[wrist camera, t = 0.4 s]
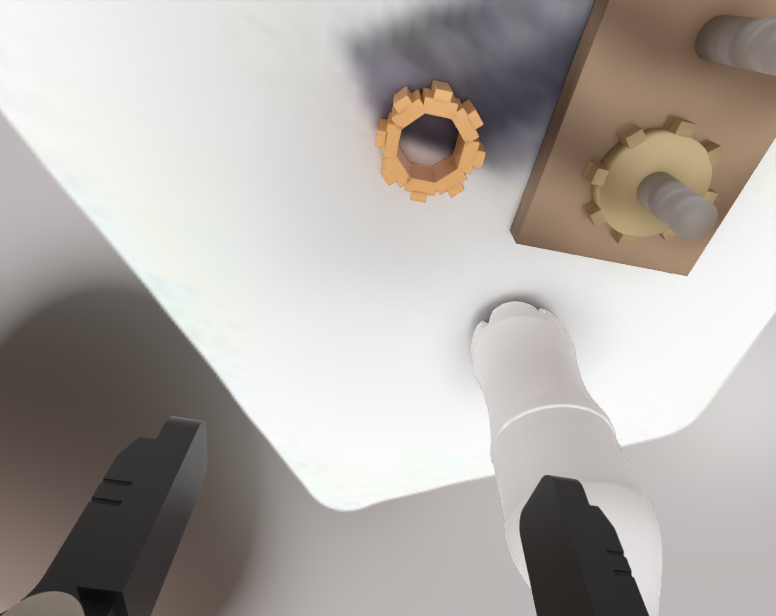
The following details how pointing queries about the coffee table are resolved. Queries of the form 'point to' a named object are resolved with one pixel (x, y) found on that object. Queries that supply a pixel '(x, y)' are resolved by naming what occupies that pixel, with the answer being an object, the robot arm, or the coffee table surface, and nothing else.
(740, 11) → the gear board
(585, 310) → the coffee table surface
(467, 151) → the gear
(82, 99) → the coffee table surface
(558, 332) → the water bottle
